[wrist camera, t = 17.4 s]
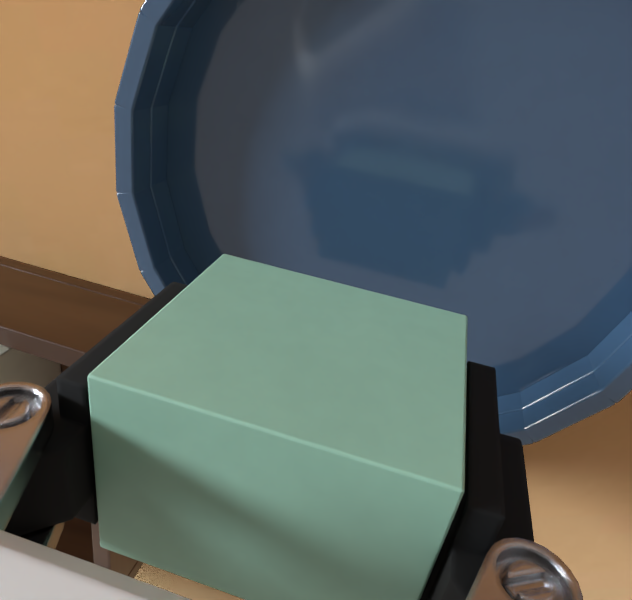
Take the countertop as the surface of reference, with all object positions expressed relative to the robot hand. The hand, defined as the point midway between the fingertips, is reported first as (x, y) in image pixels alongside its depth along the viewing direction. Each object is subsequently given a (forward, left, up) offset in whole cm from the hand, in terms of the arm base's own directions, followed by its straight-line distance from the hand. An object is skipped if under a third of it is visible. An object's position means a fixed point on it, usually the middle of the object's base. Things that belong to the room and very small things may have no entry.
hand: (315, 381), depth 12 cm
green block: (0, 0, -1) cm, 1 cm away
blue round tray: (-3, 0, -7) cm, 7 cm away
